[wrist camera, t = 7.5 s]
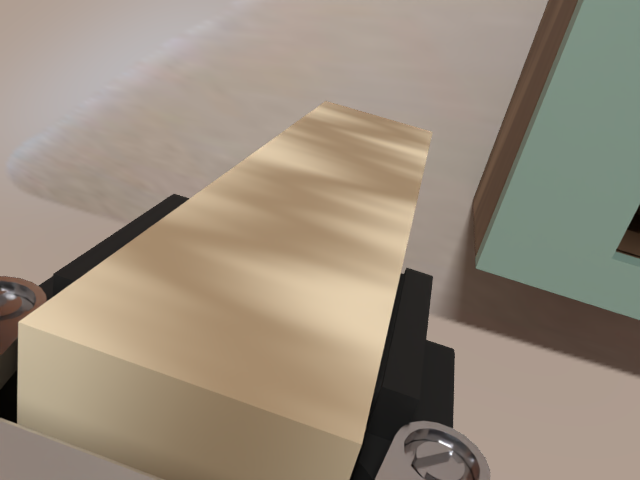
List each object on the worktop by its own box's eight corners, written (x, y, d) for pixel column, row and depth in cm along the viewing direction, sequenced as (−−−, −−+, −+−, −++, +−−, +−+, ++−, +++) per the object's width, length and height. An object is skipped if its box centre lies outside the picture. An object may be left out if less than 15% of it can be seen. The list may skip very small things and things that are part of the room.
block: (432, 132, 20) (361, 443, 6) (400, 231, 22) (283, 663, 8) (325, 101, 21) (18, 321, 6) (301, 201, 22) (15, 554, 8)
